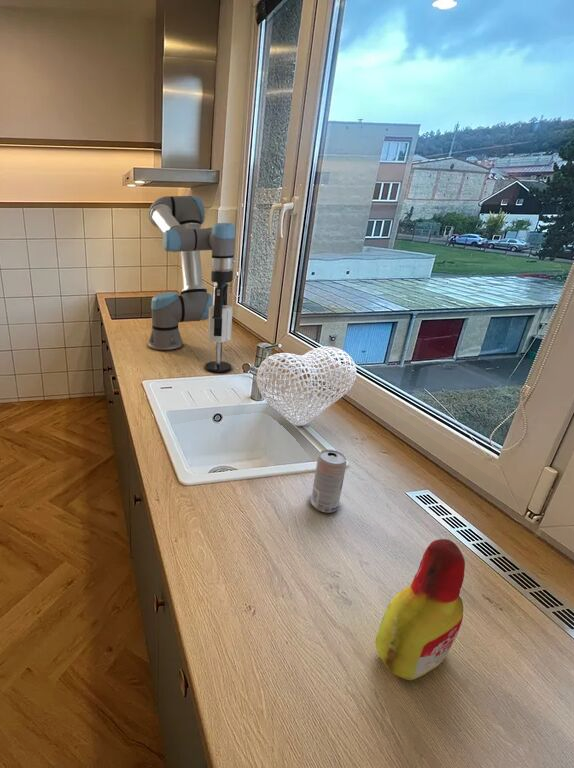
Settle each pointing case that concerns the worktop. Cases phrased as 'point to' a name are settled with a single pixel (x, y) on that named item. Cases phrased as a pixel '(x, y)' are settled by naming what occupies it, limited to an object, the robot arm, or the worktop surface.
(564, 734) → the worktop surface
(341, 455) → the energy drink
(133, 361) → the worktop surface
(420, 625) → the bottle
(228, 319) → the paper towel roll
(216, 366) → the towel stand
